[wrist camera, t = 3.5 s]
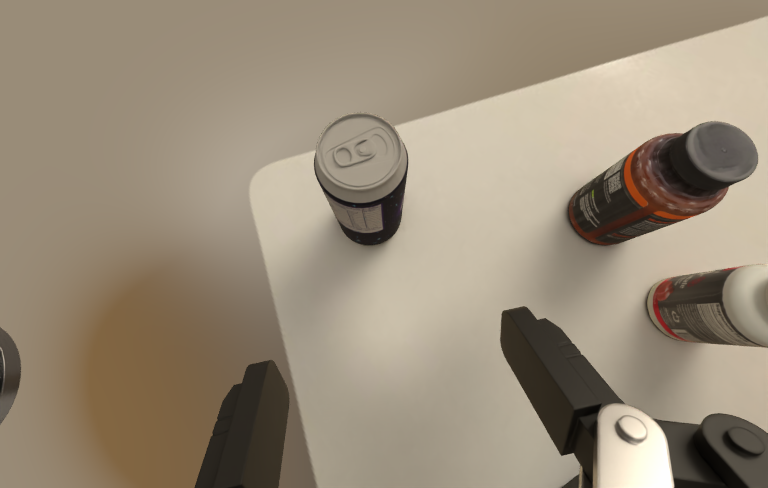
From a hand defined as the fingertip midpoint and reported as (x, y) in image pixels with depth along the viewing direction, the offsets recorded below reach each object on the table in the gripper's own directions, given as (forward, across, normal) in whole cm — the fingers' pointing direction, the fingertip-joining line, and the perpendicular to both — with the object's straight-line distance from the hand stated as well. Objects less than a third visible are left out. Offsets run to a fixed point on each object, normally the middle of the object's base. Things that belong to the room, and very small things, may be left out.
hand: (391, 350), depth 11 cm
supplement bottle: (+16, -21, +7) cm, 28 cm away
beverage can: (+19, 0, +4) cm, 20 cm away
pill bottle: (+10, -24, +14) cm, 30 cm away
